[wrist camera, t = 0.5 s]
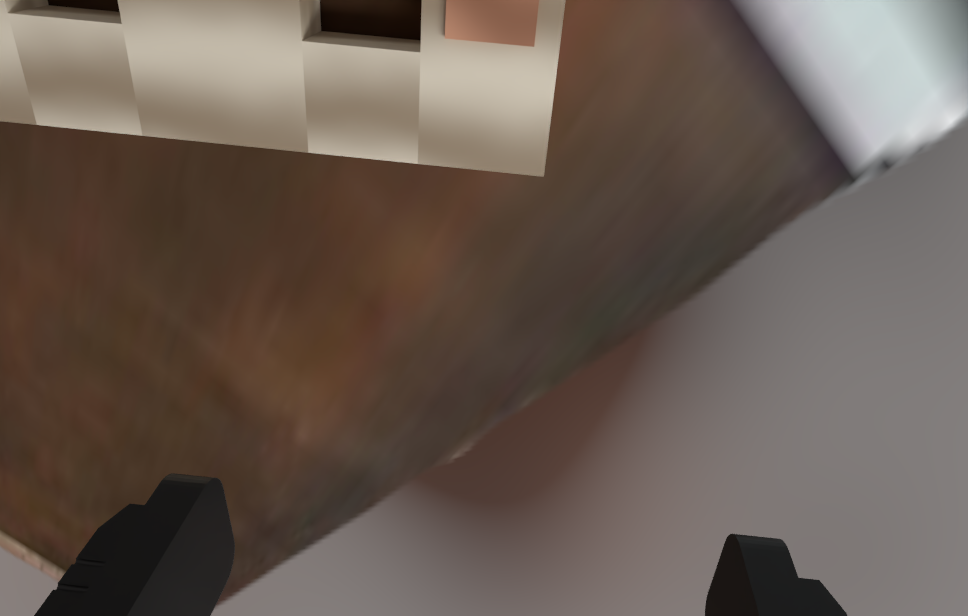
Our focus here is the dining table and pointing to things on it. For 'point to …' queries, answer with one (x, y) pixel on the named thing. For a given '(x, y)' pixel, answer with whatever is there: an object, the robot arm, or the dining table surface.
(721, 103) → the dining table surface
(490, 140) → the socket block
